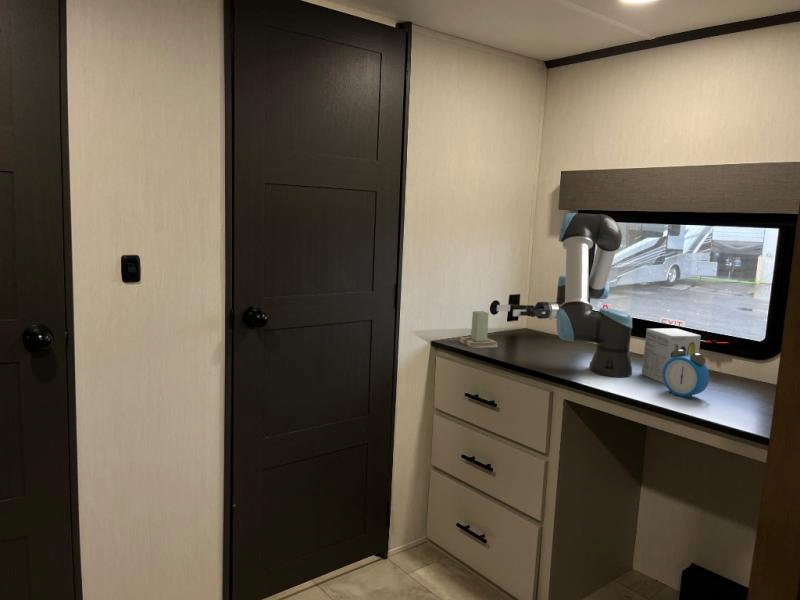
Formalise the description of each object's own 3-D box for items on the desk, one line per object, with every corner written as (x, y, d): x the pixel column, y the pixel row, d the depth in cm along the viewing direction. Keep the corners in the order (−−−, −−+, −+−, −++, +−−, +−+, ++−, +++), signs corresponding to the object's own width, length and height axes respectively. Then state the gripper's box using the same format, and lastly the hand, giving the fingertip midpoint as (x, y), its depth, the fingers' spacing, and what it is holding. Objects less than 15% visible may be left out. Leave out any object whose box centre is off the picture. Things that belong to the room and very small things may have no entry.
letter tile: (497, 347, 259) (497, 342, 259) (472, 347, 255) (472, 343, 255) (484, 340, 270) (484, 336, 270) (459, 341, 266) (460, 337, 266)
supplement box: (664, 384, 213) (670, 335, 211) (640, 374, 226) (645, 328, 223) (696, 383, 217) (702, 335, 214) (670, 373, 229) (676, 327, 227)
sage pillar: (486, 340, 261) (488, 313, 259) (476, 341, 259) (478, 313, 257) (481, 338, 265) (483, 311, 264) (470, 338, 264) (472, 311, 262)
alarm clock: (659, 391, 204) (664, 347, 202) (670, 388, 208) (675, 346, 206) (697, 402, 194) (703, 356, 191) (707, 399, 197) (713, 354, 195)
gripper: (562, 323, 261) (519, 323, 254) (529, 313, 284) (490, 314, 277) (563, 306, 260) (521, 306, 253) (531, 298, 283) (491, 297, 276)
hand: (504, 310), depth 265 cm, fingers open, 13 cm apart
